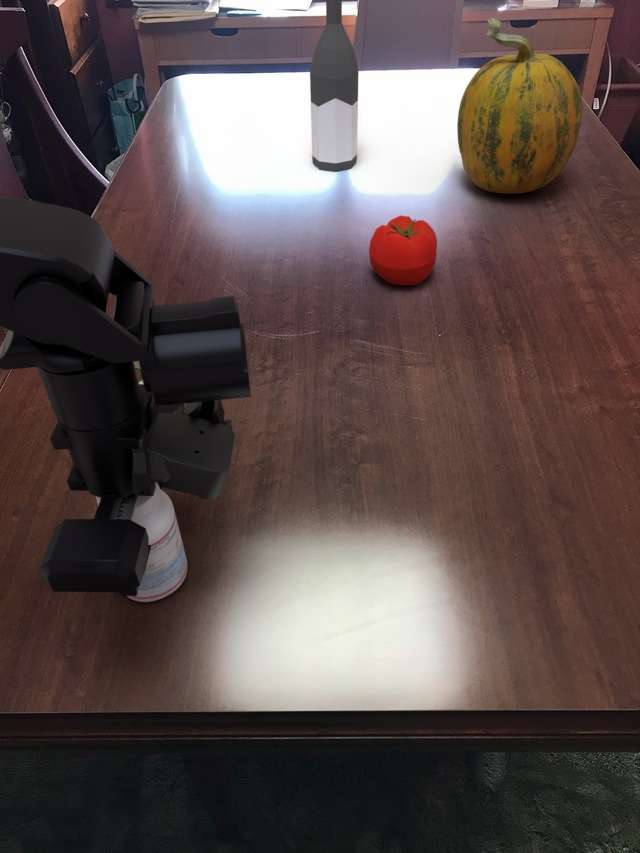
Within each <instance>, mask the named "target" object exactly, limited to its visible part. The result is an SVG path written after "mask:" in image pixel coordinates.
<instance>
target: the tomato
mask: <svg viewBox="0 0 640 853" xmlns="http://www.w3.org/2000/svg"><path fill="white" fill-rule="evenodd" d="M437 250H438V239H437V234H436V232H435V230H434V229H433V227H432V226H431V225H430V224H429V223H428V222H427V221H426V220H424V219H419V220H418V219H416V218H414V219H412V218H411V216H409V215H398V216H396V217H394V218H392V219H390V220H389V221H388V222H387V224H386V225H385V224H381V225H380V226H378V227H377V228H376V229H375V231H374V233H373V234H372V237H371V239H370V241H369V248H368V255H369V262H370V265H371V268H372V271H374V272H375V273H376V274H378V275H379V276H380V277H381V279H383V280H385V281H386V282H387V283H389V284H391V285H395V286H416V285H418V284H420V283H422V282H423V281H424V280H425V279H426V278H427V277H428V276H429V275H430V274H431V272H432V270H433V269H434V267H435V265H436V260H437Z"/></svg>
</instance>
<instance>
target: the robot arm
mask: <svg viewBox="0 0 640 853" xmlns="http://www.w3.org/2000/svg"><path fill="white" fill-rule="evenodd" d="M109 294H111V295H113V296H115V298H114V305H113V312H112V317H111V316H110V315H109V314H107V307H108V302H109ZM154 296H155V285H154V283H153V282H152V281H151V280H150V279H148V278H147V277H146V275H144V274H143V273H142V272H140V271H139V270H138V269H137V268H136V267H134V266H133V265H132V264H131V263H130V262H129V261H127V260H126V258H124V257H123V256H122V255H120V253H118V252H117V251H116V250H115V249H114V248H113V246H112V242H111V241H110V239H109V237H108V235H106V233H105V230H103V227H102V225H101V224H100V223H99V222H98V221H97V220H96V219H94V217H92V216H90V215H88V214H86V213H84V212H83V211H80V210H77V209H74V208H70V207H66V206H60V205H57V204H51V203H45V202H40V201H35V200H29V199H24V198H19V197H0V328H3V329H6V330H7V332H6V334H5V337H4V341H3V343H2V346H1V349H0V370H3V371H7V370H8V371H9V370H18V369H27V368H37V370H38V373H39V375H40V378H41V381H42V383H43V386H44V388H45V391H46V394H47V397H48V399H49V402H50V405H51V407H52V410H53V413H54V415H55V418H56V424H55V426H54V429H53V431H52V433H51V435H50V438H49V440H50V442H51V445H52V447H53V449H54V450H68V453H69V455H70V458H71V461H72V466H71V470H70V472H69V474H68V476H67V479H66V483H67V486H68V489H69V491H71V492H72V491H73V492H74V491H75V492H79V491H80V492H87V491H88V492H89V494H90V495H92V496H94V497H96V496H97V497H100V498H101V499H100V502H99V505H98V504H97V509H96V511H95V514H94V517H93V518H64V519H63V520H62V521H61V522H60V523H59V524H58V525H56V526H55V527H54V530H53V533H52V535H51V538H50V540H49V543H48V546H47V547H46V551H45V553H44V556H43V558H42V560H41V563H40V566H39V570H40V572H41V575H42V577H43V578H44V580H45V582H46V585H47V586H48V588H50V590H51V591H52V593H116V594H119V595H121V596H123V597H127V596H137V594H138V587H139V586H140V585H141V581H142V577H143V575H144V573H145V569H146V565H147V561H148V557H149V553H150V549H151V545H148V541H149V538H148V534H147V531H146V528H145V527H143V526H141V525H139V524H137V523H135V522H133V521H132V519H133V516H134V512H135V509H136V505H137V502H138V498H139V496H154V492H155V488H156V485H155V482H157V484H158V486H159V488H160V489H161V490H162V491H163V488H164V489H167V490H172V491H176V492H180V493H183V494H188V495H192V496H196V497H197V498H199V499H202V500H207V501H209V500H210V501H211V500H215V499H216V498H218V497H219V495H220V494H221V490H222V488H223V485H224V482H225V480H226V477H227V476H228V471H229V470H230V466H231V461H232V454H233V450H234V449H233V448H234V442H235V435H236V434H235V432H234V430H233V426H232V422H233V420H232V419H229V418H226V420H225V414H226V413H225V409H224V406H223V402H222V400H234V399H242V398H243V399H244V398H251V397H252V392H251V382H250V374H249V364H248V355H247V344H246V336H245V335H246V334H245V327H244V322H241V319H240V318H241V317H240V311H239V305H238V298H237V297H236V296H235V295H227V296H226V295H225V296H217V297H212V298H209V299H206V300H200V301H191V302H190V301H188V302H177V303H167V304H156V303H155V299H154ZM135 361H139V364H140V369H139V370H140V375H141V379H142V380H143V384H139V382H140V381H139V378H138V374H137V369H136V368H135V366H134V362H135ZM142 380H141V381H142ZM185 404H186V406H185Z"/></svg>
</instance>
